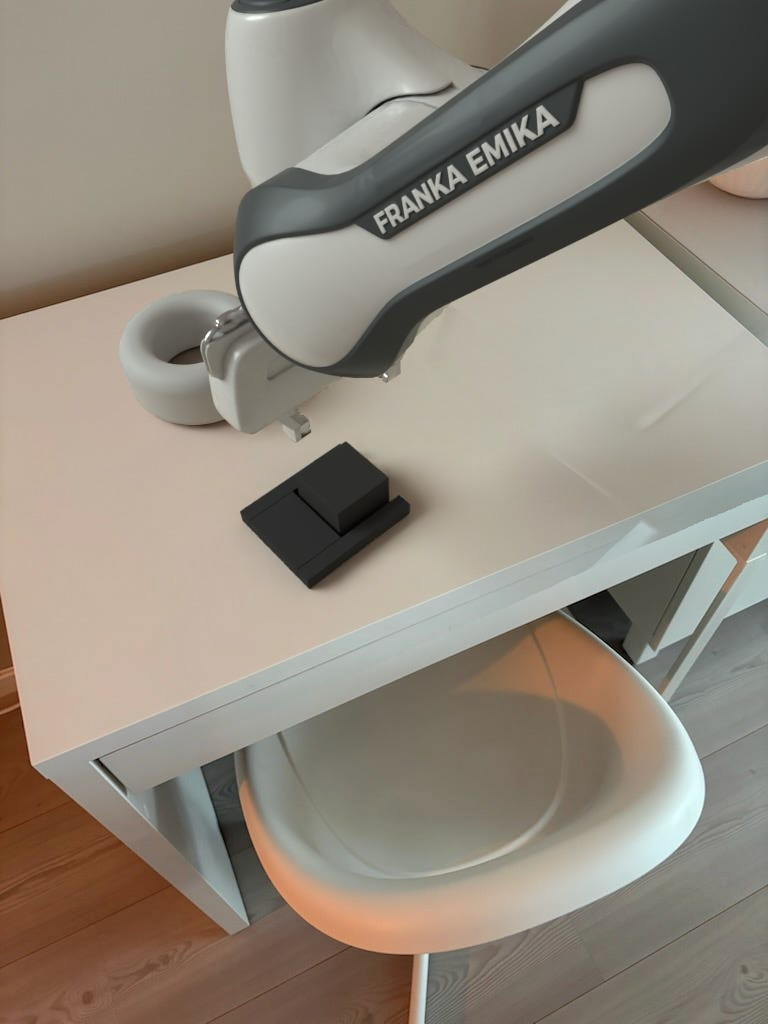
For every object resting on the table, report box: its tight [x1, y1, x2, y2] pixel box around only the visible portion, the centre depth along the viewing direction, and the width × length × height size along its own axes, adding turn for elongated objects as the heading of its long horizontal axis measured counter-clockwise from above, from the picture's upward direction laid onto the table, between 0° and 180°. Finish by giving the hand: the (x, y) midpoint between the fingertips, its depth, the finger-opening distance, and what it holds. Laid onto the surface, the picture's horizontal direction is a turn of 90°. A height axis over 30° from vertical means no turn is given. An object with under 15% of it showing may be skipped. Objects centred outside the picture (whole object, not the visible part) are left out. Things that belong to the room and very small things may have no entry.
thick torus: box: [118, 289, 241, 426], centre depth 78 cm, size 15×15×7 cm
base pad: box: [239, 443, 411, 590], centre depth 69 cm, size 10×12×2 cm
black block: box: [295, 440, 390, 538], centre depth 69 cm, size 6×6×4 cm
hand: (343, 403), depth 60 cm, fingers open, 8 cm apart
